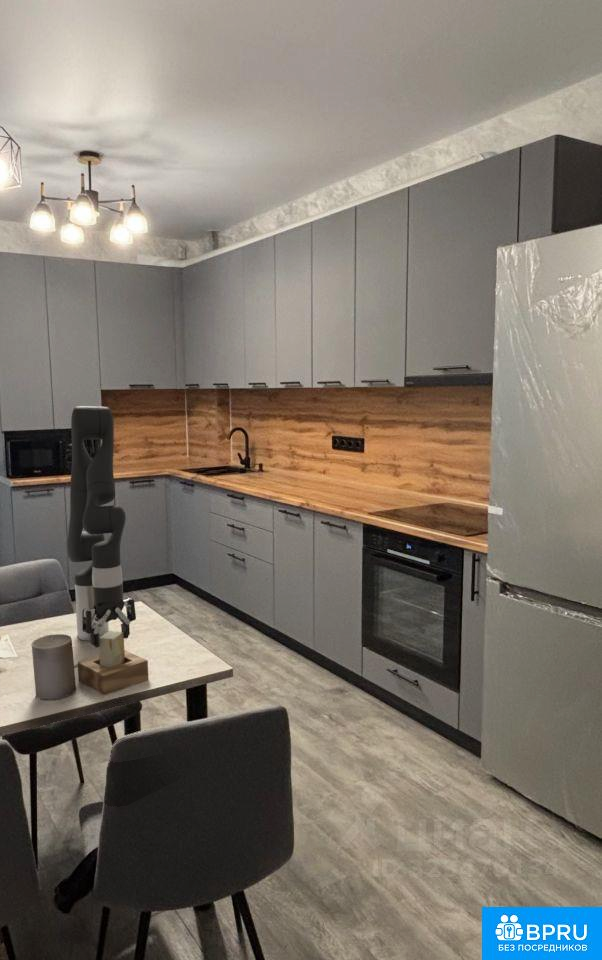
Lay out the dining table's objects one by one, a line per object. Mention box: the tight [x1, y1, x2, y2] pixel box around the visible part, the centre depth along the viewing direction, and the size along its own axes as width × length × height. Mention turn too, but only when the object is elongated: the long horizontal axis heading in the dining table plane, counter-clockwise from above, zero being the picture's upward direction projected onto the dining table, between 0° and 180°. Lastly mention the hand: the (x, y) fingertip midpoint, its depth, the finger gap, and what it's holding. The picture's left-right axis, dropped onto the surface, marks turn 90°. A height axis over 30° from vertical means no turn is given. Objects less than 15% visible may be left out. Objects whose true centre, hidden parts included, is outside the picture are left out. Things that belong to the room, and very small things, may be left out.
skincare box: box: [98, 630, 125, 669], centre depth 186 cm, size 6×4×12 cm
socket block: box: [76, 649, 149, 696], centre depth 186 cm, size 13×13×5 cm
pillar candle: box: [30, 633, 77, 701], centre depth 179 cm, size 10×10×15 cm
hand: (110, 642), depth 185 cm, fingers open, 8 cm apart
